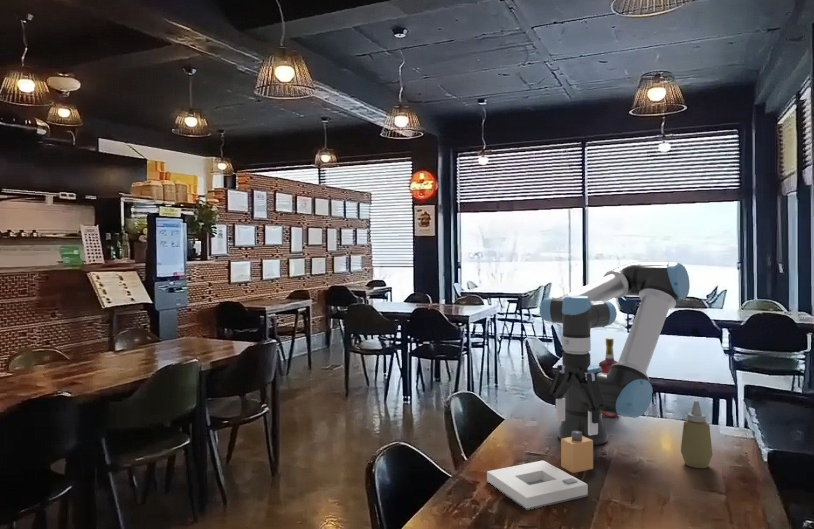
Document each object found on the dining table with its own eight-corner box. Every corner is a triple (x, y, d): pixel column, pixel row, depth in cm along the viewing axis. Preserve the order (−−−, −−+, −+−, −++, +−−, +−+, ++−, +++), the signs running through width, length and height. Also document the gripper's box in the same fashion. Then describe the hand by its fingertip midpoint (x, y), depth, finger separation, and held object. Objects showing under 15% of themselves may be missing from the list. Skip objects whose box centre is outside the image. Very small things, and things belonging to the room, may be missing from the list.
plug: (561, 466, 166) (561, 431, 165) (581, 462, 168) (580, 428, 168) (572, 473, 161) (572, 436, 161) (593, 468, 164) (592, 433, 163)
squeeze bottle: (716, 471, 160) (716, 406, 160) (684, 469, 162) (684, 404, 161) (707, 460, 168) (707, 398, 168) (677, 459, 170) (677, 397, 169)
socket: (487, 482, 155) (486, 469, 155) (543, 471, 163) (543, 458, 162) (527, 510, 139) (526, 496, 139) (587, 496, 146) (587, 482, 146)
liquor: (599, 412, 218) (599, 336, 217) (620, 413, 215) (620, 337, 214) (598, 417, 211) (598, 340, 210) (620, 419, 208) (620, 340, 207)
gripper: (538, 345, 173) (537, 417, 174) (596, 360, 151) (596, 442, 151) (558, 344, 176) (558, 414, 177) (619, 358, 154) (619, 438, 154)
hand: (576, 427), depth 164 cm, fingers open, 13 cm apart
